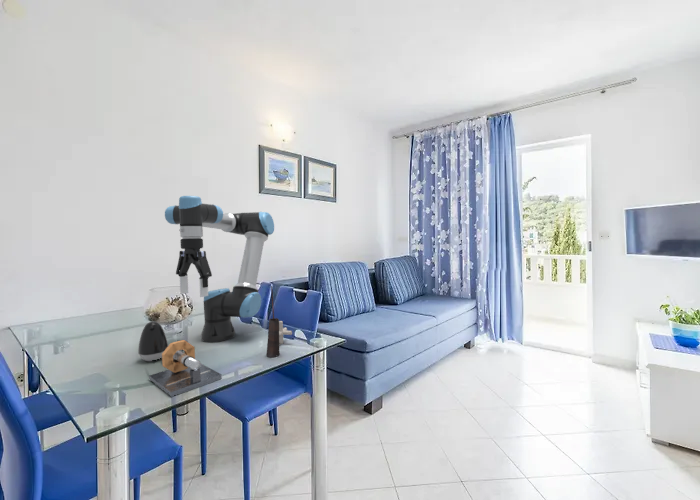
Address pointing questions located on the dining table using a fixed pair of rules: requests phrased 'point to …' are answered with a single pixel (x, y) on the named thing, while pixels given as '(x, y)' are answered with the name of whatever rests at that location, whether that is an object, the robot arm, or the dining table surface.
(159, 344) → the black dome
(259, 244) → the robot arm
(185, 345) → the ring
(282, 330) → the pipe connector
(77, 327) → the dining table surface
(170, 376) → the pipe stand
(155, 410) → the dining table surface
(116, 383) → the dining table surface
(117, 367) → the dining table surface
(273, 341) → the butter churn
